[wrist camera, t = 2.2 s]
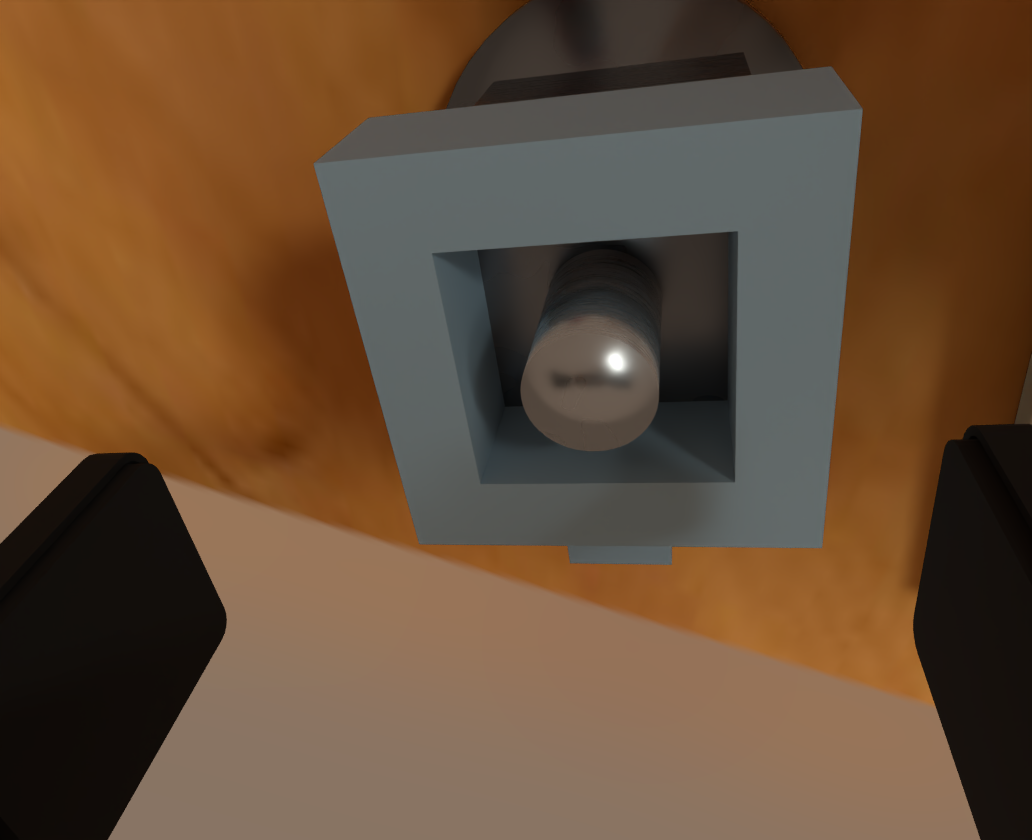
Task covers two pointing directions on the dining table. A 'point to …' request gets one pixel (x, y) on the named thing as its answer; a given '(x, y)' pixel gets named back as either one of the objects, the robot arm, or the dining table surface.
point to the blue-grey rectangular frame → (601, 217)
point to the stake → (614, 263)
